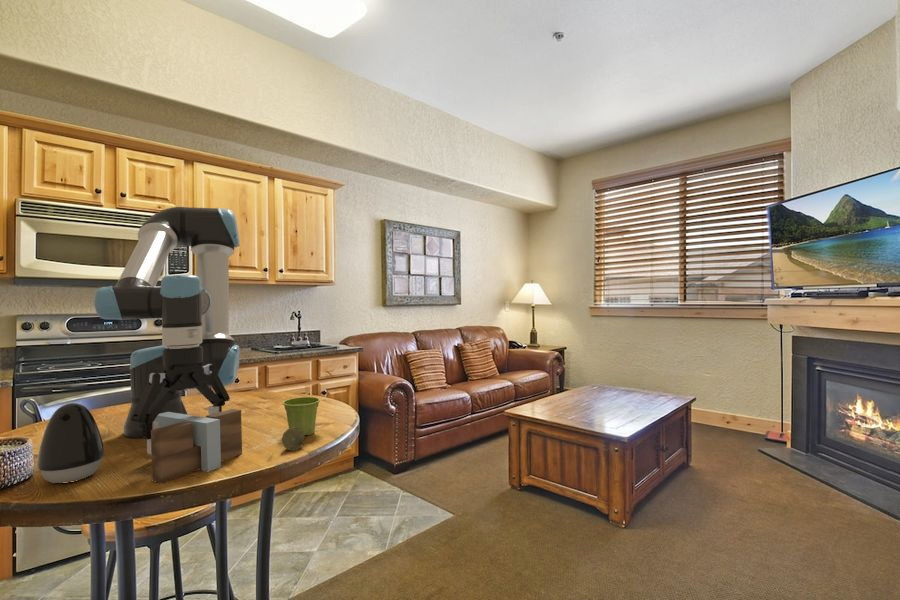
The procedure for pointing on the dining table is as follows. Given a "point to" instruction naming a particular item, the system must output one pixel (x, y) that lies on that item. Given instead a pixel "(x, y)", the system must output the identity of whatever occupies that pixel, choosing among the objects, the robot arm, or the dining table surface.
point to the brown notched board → (191, 446)
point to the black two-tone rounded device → (70, 445)
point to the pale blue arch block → (199, 436)
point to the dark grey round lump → (293, 439)
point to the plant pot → (302, 413)
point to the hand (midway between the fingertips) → (185, 443)
